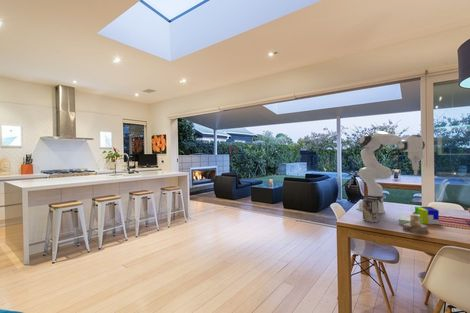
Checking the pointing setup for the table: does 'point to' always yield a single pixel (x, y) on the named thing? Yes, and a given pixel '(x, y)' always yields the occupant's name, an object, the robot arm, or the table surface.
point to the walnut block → (415, 228)
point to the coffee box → (370, 210)
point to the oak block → (415, 220)
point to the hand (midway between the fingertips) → (415, 174)
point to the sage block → (405, 220)
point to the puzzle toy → (428, 215)
